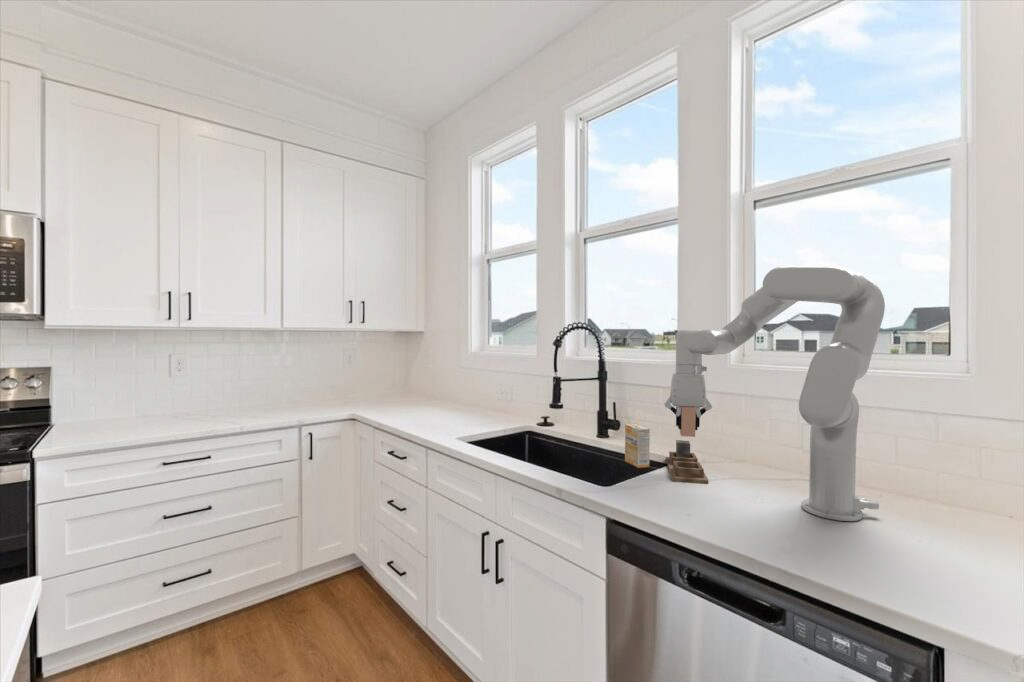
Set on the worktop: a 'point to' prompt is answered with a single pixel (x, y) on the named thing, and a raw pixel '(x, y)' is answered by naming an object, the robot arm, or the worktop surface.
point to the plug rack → (685, 464)
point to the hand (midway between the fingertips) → (687, 428)
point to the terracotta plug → (688, 421)
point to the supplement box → (637, 445)
